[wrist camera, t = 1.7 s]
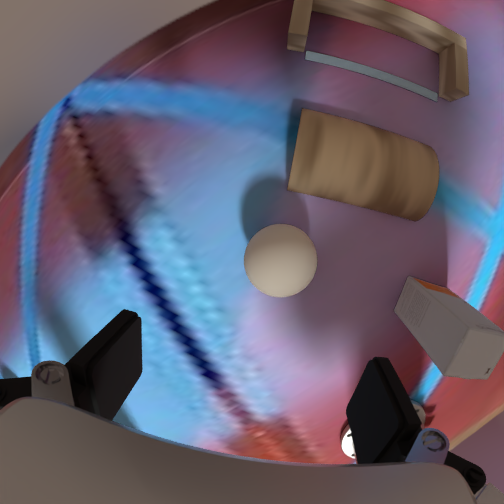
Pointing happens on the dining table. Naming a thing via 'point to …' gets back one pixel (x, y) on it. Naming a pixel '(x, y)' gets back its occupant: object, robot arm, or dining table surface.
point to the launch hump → (363, 166)
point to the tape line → (371, 73)
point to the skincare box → (450, 330)
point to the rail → (396, 22)
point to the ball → (280, 260)
